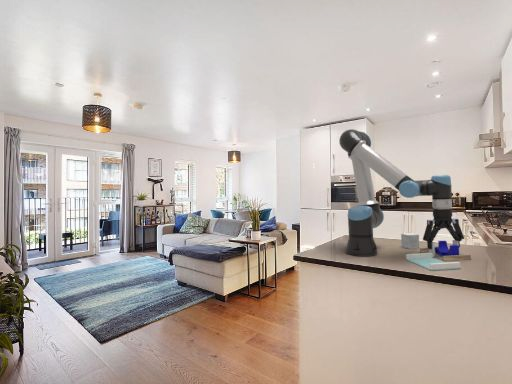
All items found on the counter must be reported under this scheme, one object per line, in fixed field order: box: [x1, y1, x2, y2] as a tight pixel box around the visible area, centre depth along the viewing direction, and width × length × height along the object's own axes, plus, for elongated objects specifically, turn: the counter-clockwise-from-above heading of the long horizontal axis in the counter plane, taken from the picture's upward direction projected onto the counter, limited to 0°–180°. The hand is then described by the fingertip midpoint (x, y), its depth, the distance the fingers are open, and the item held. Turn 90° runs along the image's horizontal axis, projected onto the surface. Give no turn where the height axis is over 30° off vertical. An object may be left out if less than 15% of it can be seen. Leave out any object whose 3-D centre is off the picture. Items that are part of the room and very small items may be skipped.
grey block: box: [400, 232, 420, 250], centre depth 146 cm, size 6×6×7 cm
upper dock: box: [419, 246, 472, 262], centre depth 127 cm, size 16×12×2 cm
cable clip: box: [434, 240, 460, 257], centre depth 127 cm, size 12×4×6 cm, turn 170°
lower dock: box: [405, 252, 461, 271], centre depth 116 cm, size 16×12×2 cm
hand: (443, 255), depth 127 cm, fingers open, 11 cm apart
